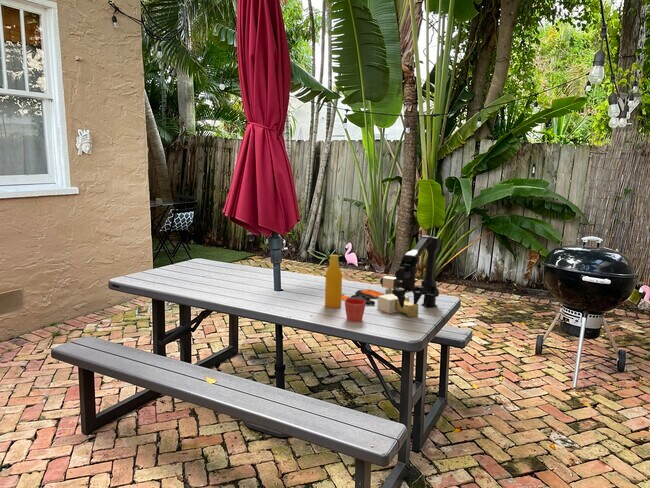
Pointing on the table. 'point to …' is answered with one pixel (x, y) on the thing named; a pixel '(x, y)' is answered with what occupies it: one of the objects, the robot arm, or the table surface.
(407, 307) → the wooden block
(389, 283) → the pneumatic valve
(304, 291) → the table surface
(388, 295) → the block
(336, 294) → the beer bottle
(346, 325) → the table surface
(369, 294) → the pair of gloves
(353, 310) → the flower pot
